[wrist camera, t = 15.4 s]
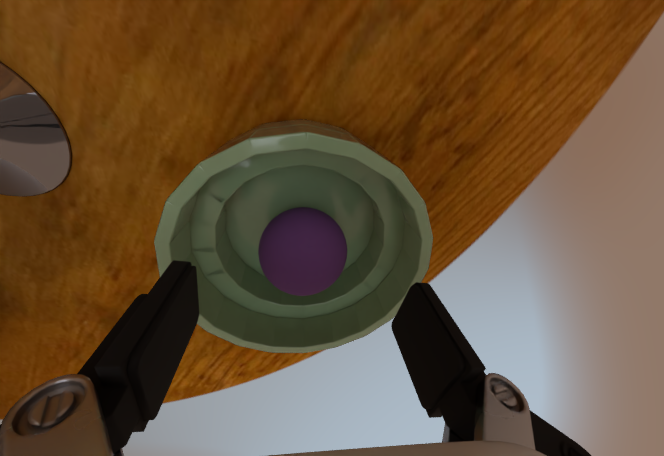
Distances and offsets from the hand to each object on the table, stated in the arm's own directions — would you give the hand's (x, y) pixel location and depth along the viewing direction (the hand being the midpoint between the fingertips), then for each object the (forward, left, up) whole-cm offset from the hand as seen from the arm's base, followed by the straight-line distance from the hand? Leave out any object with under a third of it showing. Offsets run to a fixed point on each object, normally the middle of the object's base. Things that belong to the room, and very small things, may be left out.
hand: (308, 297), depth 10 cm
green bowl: (0, 0, -7) cm, 7 cm away
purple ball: (0, 0, -6) cm, 6 cm away
